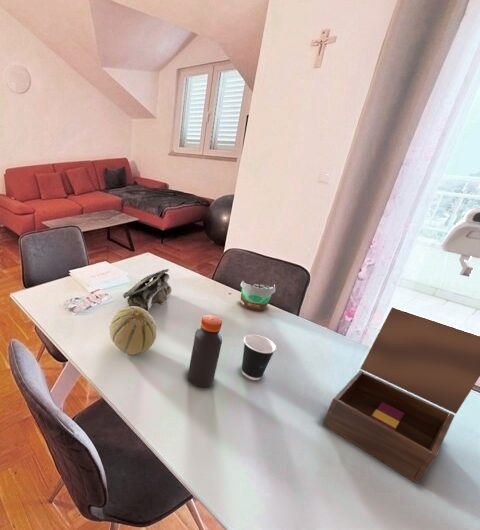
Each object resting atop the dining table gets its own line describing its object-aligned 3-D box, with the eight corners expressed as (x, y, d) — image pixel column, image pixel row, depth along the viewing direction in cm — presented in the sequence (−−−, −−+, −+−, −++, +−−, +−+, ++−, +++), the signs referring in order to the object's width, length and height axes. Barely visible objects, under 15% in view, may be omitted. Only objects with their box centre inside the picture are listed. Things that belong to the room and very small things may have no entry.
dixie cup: (236, 361, 95) (244, 331, 91) (266, 369, 92) (275, 339, 87) (235, 378, 89) (243, 347, 84) (267, 388, 85) (277, 355, 81)
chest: (417, 484, 62) (436, 456, 59) (321, 424, 75) (333, 398, 72) (437, 441, 71) (455, 415, 68) (348, 394, 83) (359, 369, 80)
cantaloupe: (121, 329, 110) (123, 292, 104) (161, 344, 103) (166, 305, 97) (99, 352, 99) (101, 312, 93) (142, 371, 91) (147, 328, 85)
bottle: (182, 374, 90) (192, 316, 82) (200, 368, 93) (211, 310, 85) (199, 391, 84) (212, 329, 76) (218, 383, 87) (232, 323, 79)
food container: (238, 309, 122) (243, 287, 118) (236, 302, 128) (241, 280, 123) (273, 314, 119) (280, 291, 115) (269, 306, 124) (276, 284, 120)
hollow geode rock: (130, 328, 119) (157, 314, 108) (111, 300, 121) (136, 283, 110) (165, 298, 138) (191, 284, 127) (148, 274, 140) (172, 258, 129)
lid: (501, 342, 63) (500, 339, 66) (392, 306, 75) (396, 305, 78) (455, 414, 67) (457, 408, 70) (360, 368, 80) (365, 365, 83)
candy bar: (397, 425, 74) (404, 413, 72) (382, 450, 68) (389, 437, 66) (375, 413, 77) (381, 401, 75) (359, 436, 71) (365, 423, 69)
